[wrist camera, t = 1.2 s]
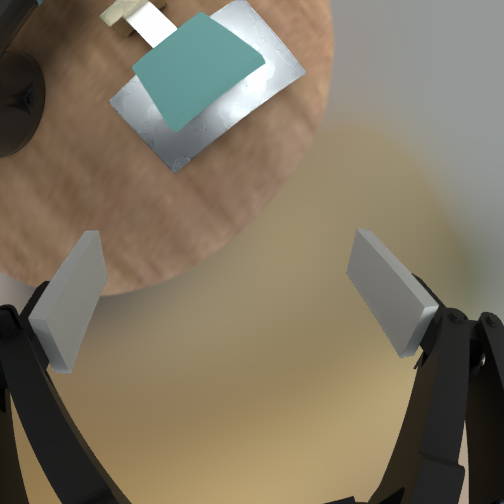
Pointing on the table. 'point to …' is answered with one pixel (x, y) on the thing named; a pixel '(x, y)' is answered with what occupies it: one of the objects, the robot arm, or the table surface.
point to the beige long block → (139, 19)
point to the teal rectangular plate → (194, 68)
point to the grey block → (222, 109)
